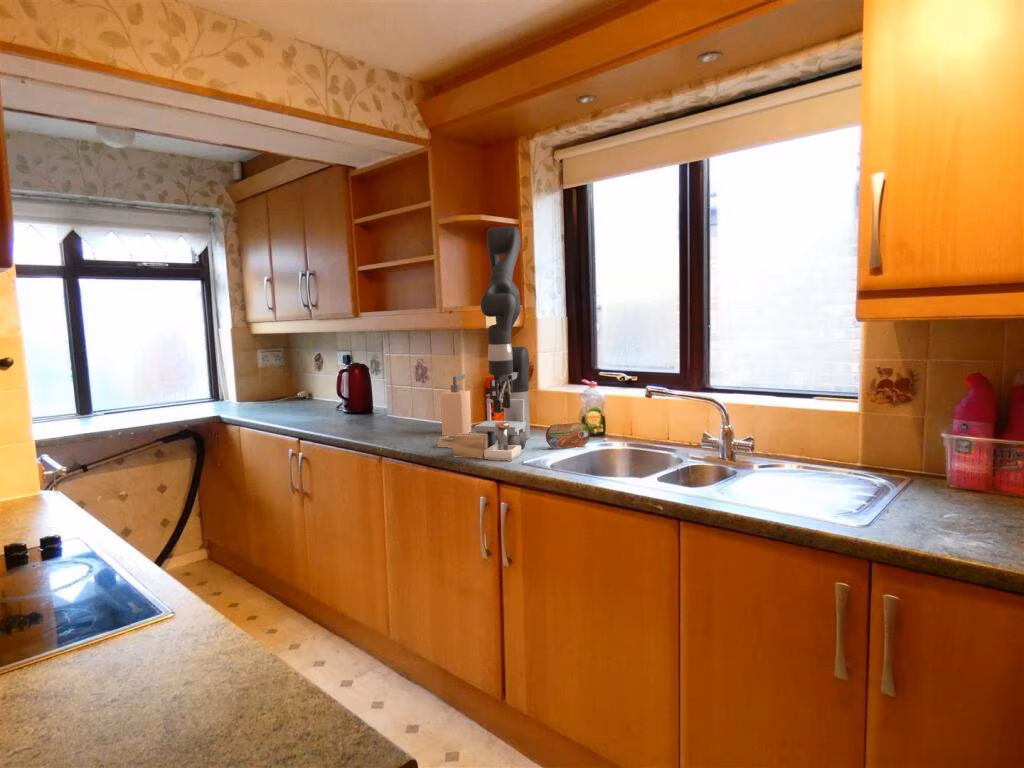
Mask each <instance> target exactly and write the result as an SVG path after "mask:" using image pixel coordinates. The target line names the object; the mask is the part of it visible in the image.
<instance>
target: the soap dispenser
mask: <svg viewBox="0 0 1024 768" xmlns="http://www.w3.org/2000/svg"><path fill="white" fill-rule="evenodd" d="M465 379H466V374H461V375H456V376H453V377H452V385H450V390H447V391H443V392H441V393H440V411H441V431H442V432H441V436H444V435H455V434H457V433H469V432H470V433H472V417H471V416H472V415H471V413H472V412H471V411H472V410H471V409H472V408H471V390H460V388H461V387H460V385H459V384H458V381H461V380H465Z"/></svg>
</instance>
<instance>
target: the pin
mask: <svg viewBox="0 0 1024 768" xmlns="http://www.w3.org/2000/svg"><path fill="white" fill-rule="evenodd" d="M495 427H497V428H498V432H497V445H498V450H505V451H508V439H507V427H509V423H508V422H499V423H495Z"/></svg>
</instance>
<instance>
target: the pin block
mask: <svg viewBox="0 0 1024 768" xmlns="http://www.w3.org/2000/svg"><path fill="white" fill-rule="evenodd" d="M438 447H448V448H447V449H453V436H451V435H450V436H444V435H443V436H441V437H439V438H438V441H437V448H438Z"/></svg>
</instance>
